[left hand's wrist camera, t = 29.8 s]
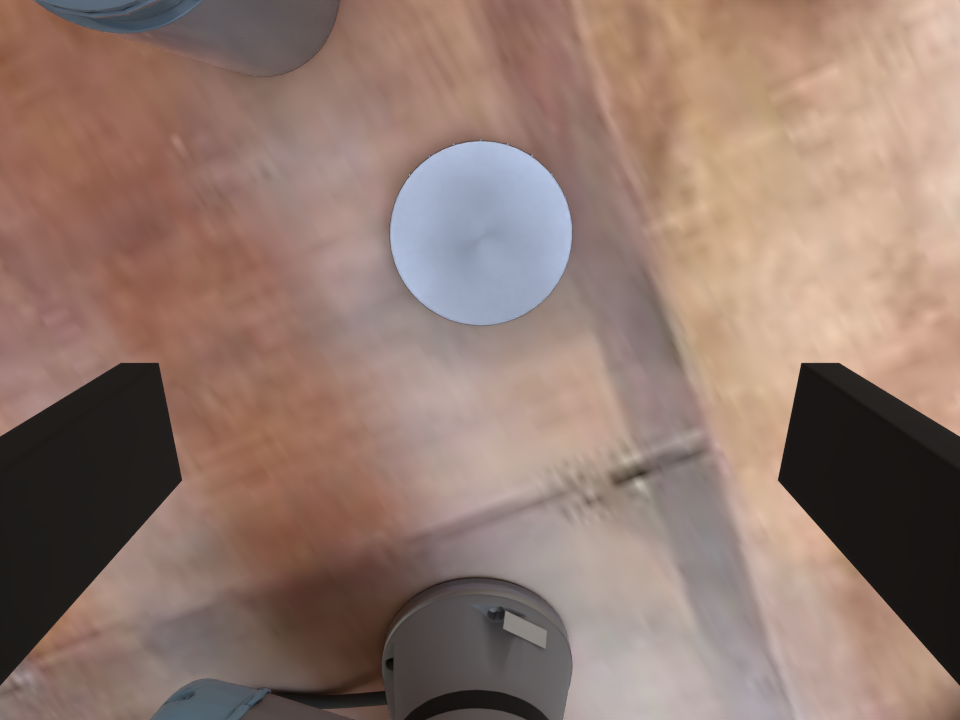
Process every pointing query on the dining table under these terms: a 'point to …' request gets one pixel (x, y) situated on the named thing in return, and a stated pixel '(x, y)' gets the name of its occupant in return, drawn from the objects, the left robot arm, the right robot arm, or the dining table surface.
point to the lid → (481, 233)
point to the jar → (213, 28)
